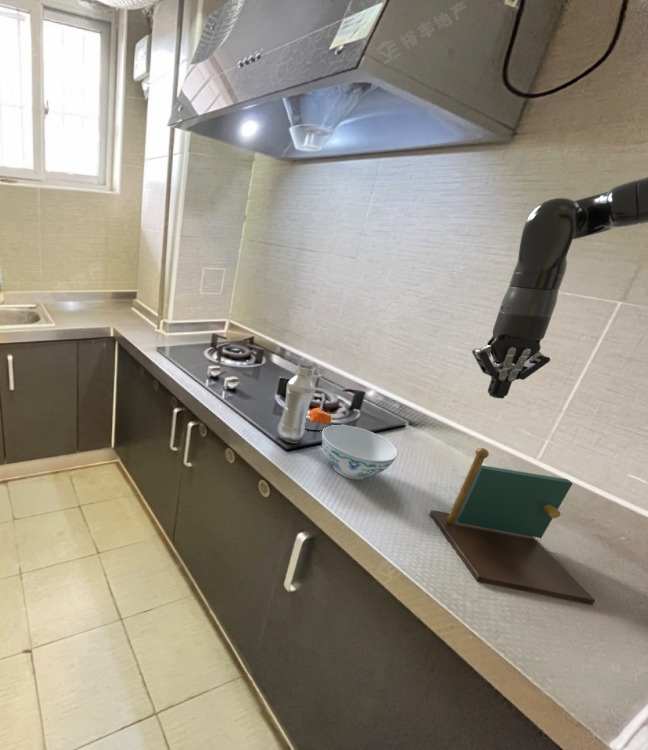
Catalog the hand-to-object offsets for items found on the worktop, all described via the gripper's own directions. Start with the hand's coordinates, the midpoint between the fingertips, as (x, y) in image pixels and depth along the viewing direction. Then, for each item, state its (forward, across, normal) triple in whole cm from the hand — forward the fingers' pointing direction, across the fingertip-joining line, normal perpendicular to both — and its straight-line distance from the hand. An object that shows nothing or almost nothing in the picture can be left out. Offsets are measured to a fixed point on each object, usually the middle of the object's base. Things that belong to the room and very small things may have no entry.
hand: (496, 397), depth 80 cm
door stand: (+23, -5, -20) cm, 31 cm away
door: (+21, -3, -16) cm, 27 cm away
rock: (+19, -26, +23) cm, 40 cm away
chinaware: (+21, -25, -1) cm, 32 cm away
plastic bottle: (+20, -36, +9) cm, 42 cm away
